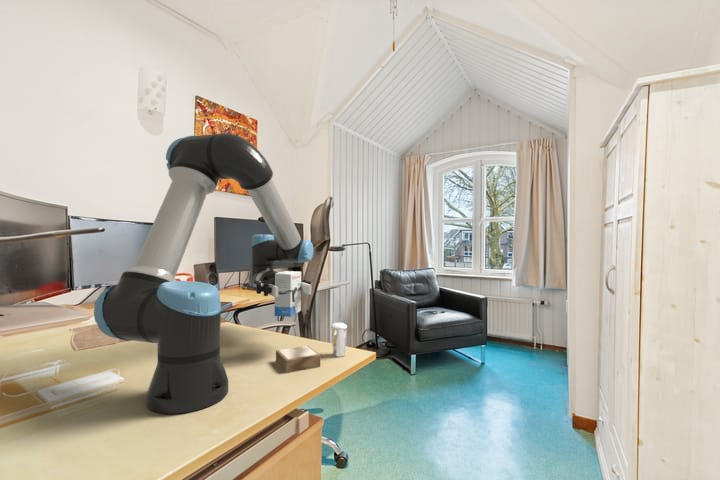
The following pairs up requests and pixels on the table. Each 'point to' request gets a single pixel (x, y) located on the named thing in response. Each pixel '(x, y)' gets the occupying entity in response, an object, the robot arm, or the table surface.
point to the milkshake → (339, 338)
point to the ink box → (288, 293)
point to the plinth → (297, 358)
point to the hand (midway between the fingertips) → (294, 290)
